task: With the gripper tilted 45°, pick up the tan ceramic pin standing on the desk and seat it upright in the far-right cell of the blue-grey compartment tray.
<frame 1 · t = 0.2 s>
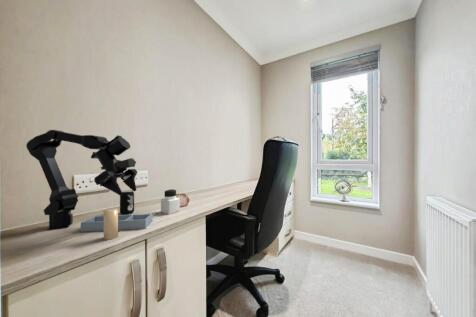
hand: (128, 192, 79), 15 cm above the table, tool tilted 35°, fingers open, 9 cm apart
blue-grey compartment tray: (119, 226, 80), on the table
medicine bottle: (170, 212, 102), on the table
beverage can: (127, 213, 100), on the table
pin: (111, 237, 69), on the table
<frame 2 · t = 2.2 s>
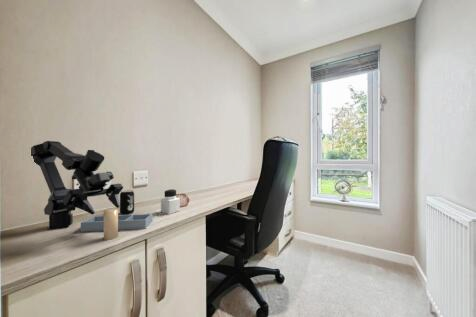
hand: (106, 210, 70), 10 cm above the table, tool tilted 45°, fingers open, 9 cm apart
nothing on the table moved.
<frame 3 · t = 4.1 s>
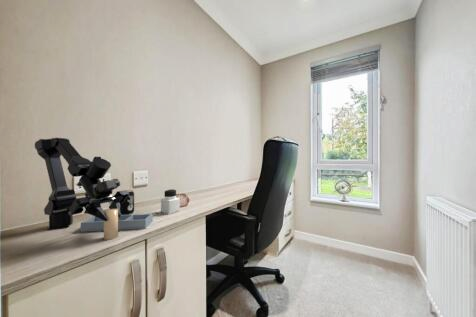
hand: (113, 218, 68), 7 cm above the table, tool tilted 45°, fingers closed on pin, 4 cm apart
pin: (111, 237, 69), on the table, touching gripper
everything else where it was.
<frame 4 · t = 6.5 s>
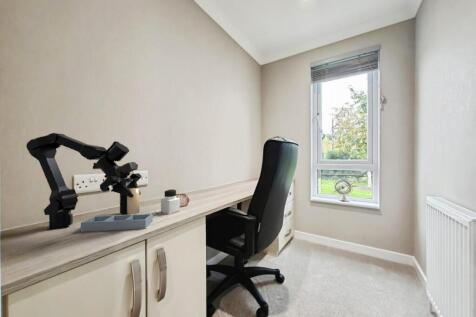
hand: (136, 195, 78), 14 cm above the table, tool tilted 45°, fingers closed on pin, 4 cm apart
pin: (133, 212, 78), point 6 cm above the table, touching gripper
everything else where it was.
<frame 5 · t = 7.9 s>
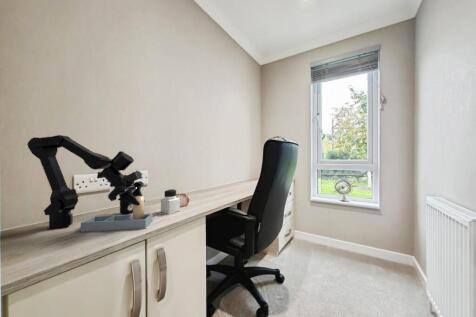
hand: (141, 203, 81), 9 cm above the table, tool tilted 45°, fingers closed on pin, 4 cm apart
pin: (138, 219, 81), point 2 cm above the table, touching gripper
everything else where it was.
when the fingers open (9 cm above the table, at t = 8.8 s): pin stays where it is, resting on blue-grey compartment tray.
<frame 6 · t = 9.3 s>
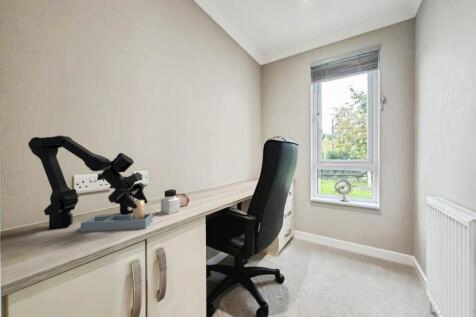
hand: (142, 205, 81), 9 cm above the table, tool tilted 45°, fingers open, 9 cm apart
pin: (138, 224, 81), point 1 cm above the table, touching blue-grey compartment tray
everything else where it was.
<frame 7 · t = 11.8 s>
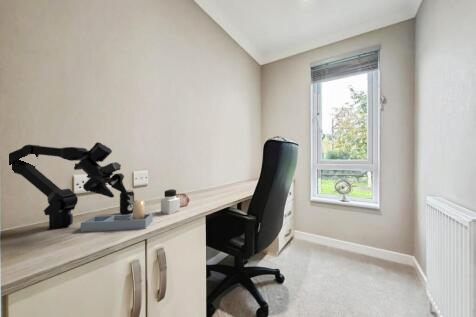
hand: (120, 194, 81), 13 cm above the table, tool tilted 45°, fingers open, 9 cm apart
nothing on the table moved.
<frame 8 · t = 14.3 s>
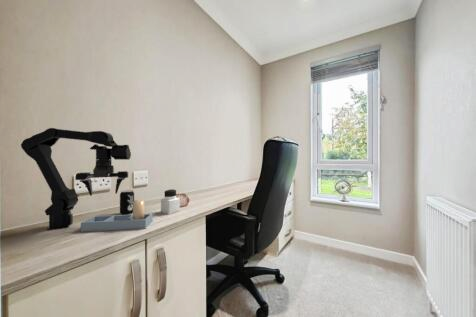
hand: (104, 194, 84), 13 cm above the table, tool pointing down, fingers open, 9 cm apart
nothing on the table moved.
at the end: pin 0.0 cm from the target spot on the blue-grey compartment tray, point 0.6 cm above the blue-grey compartment tray's base; pin tilted 0°; the gripper is holding nothing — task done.
